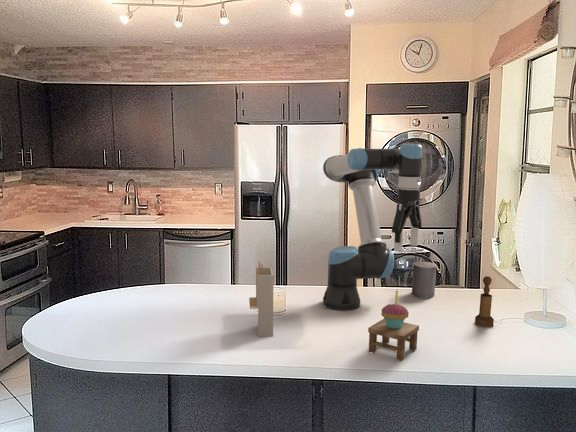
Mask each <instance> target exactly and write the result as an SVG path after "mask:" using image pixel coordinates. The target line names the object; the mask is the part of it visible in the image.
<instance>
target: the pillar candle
mask: <svg viewBox="0 0 576 432" xmlns="http://www.w3.org/2000/svg"><path fill="white" fill-rule="evenodd" d="M412 267H413V269H412V281H411V282H412V284H411V285H412V287H411V296H414V297H415V298H421V299H431V298H434V296H435V293H436V291H435V290H436V280H437V279H436V277H437V264H436V263H433V262H431V261H416V262H414V263H413V266H412Z"/></svg>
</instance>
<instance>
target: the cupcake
mask: <svg viewBox="0 0 576 432" xmlns="http://www.w3.org/2000/svg"><path fill="white" fill-rule="evenodd" d="M398 292H399V291H398V290H395V294H394V295H395V297H394V303H389V304H386V305H385V306H383V307H382V308H381V313H380V314H381V317H383V319H385V322H386V326H387V327H389V328H393V329H398V328H401V327H402V324H403V322H404V321H405V320H406V319H407V318H409V315H410V313H409V311H408V309H407V308H406V307H405V306H403V305H401V304H399V303H398V297H399V296H398Z"/></svg>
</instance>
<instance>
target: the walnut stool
mask: <svg viewBox="0 0 576 432" xmlns="http://www.w3.org/2000/svg"><path fill="white" fill-rule="evenodd" d="M418 331H420V325H418V324H415V323H414V324H413V323H409V322H403V324H402V327H401V328H398V329H393V328H389V327H387V326H386V322H385V319H384V318H382V319H380V320H378V321H377V322H376V323H374V324H372V325H371V326H369V327H368V328H367V333H369V334H368V353H370V354H371V353H372V354H374V353H376V352H377V347H380V348H383V349H388V350H391V351H395V352H396V360H397V361H403V360H405V354H406V353H405V352H406V342H407V343H408V342H409V345H408V350H409V351H413V352H416V350H417V349H418V347H417V346H418ZM378 336H381V337H382V338H381V342H380V341H377V340H378ZM390 339H393V340H397V341H396V345H392V344H389V343H390Z"/></svg>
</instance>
